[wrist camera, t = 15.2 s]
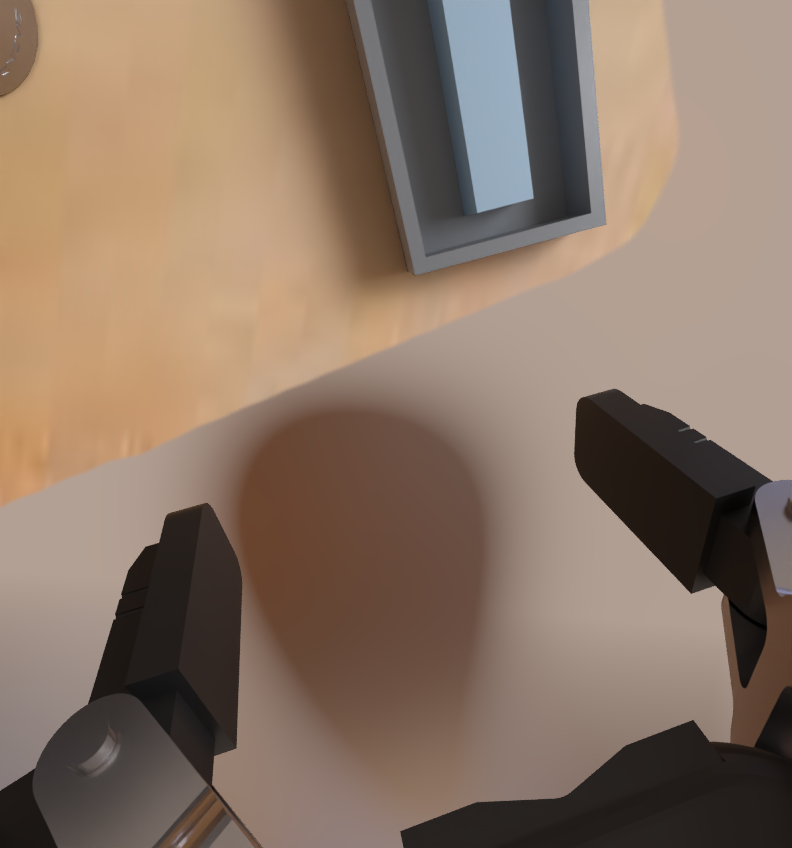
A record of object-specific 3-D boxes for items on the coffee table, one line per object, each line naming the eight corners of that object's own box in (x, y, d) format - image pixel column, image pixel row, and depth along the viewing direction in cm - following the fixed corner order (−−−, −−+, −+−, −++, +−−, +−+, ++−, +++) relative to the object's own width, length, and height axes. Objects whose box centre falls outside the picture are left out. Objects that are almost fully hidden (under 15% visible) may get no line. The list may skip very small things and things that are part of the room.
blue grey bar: (515, 202, 37) (533, 198, 33) (464, 216, 37) (477, 213, 33) (461, -190, 29) (478, -254, 25) (397, -173, 29) (404, -234, 25)
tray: (576, 226, 39) (606, 224, 34) (407, 271, 39) (415, 275, 34) (524, -295, 28) (557, -397, 24) (292, -232, 28) (281, -321, 24)
